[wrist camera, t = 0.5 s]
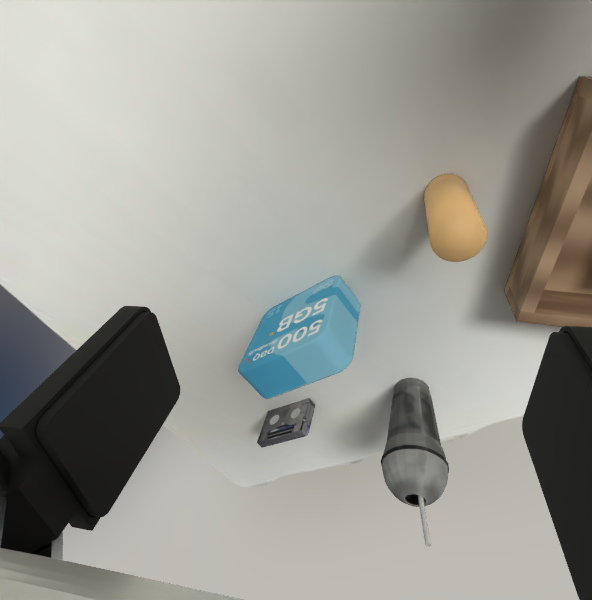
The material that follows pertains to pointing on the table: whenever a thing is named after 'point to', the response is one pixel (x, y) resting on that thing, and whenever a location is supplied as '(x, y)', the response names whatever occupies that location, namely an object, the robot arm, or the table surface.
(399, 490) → the beverage cup
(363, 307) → the table surface
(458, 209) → the peg
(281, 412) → the mini dv tape
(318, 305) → the data package
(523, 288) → the open box
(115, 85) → the table surface
